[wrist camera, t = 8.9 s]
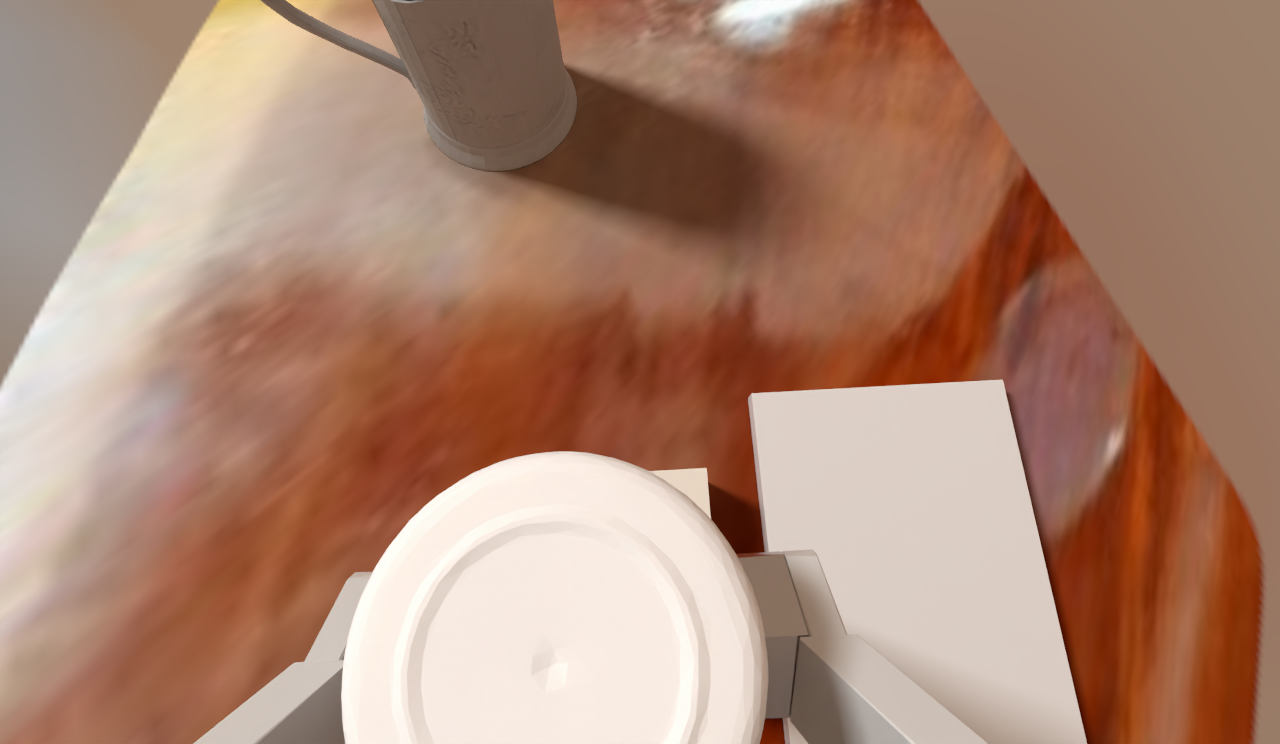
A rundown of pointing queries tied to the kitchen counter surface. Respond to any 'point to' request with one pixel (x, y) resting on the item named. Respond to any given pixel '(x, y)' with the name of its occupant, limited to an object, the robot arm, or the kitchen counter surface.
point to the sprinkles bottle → (557, 617)
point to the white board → (924, 544)
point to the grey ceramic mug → (474, 73)
